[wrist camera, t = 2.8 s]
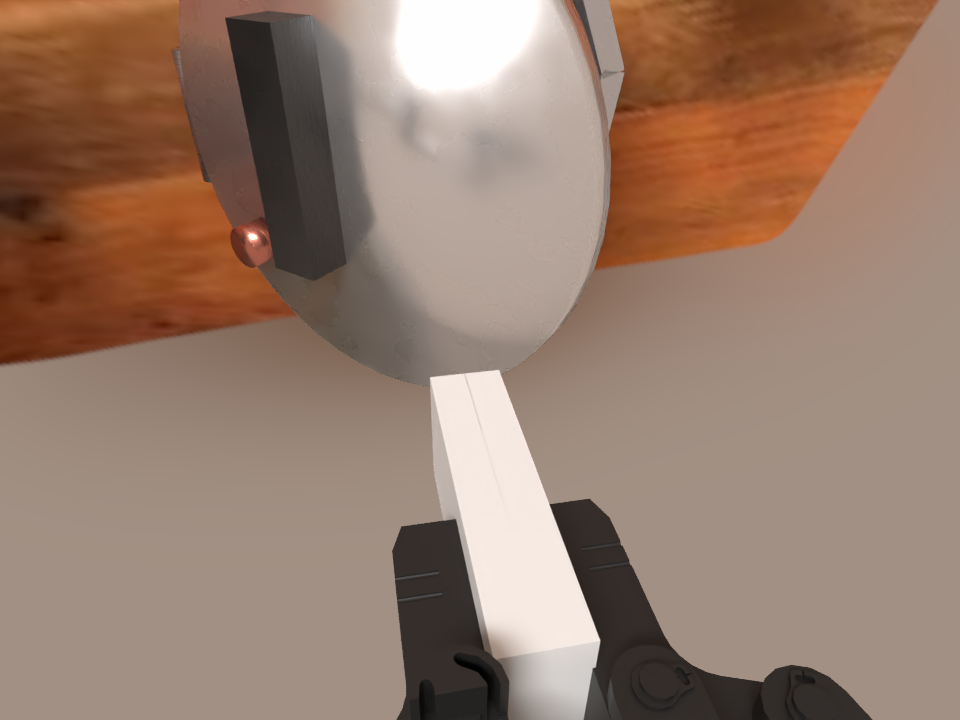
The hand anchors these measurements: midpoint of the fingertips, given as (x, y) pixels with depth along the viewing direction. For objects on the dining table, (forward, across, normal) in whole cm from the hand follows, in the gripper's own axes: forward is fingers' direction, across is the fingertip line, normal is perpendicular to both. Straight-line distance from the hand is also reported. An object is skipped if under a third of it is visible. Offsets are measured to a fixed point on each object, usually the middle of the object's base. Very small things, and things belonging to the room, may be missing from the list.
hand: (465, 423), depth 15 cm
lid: (+17, -1, +1) cm, 17 cm away
